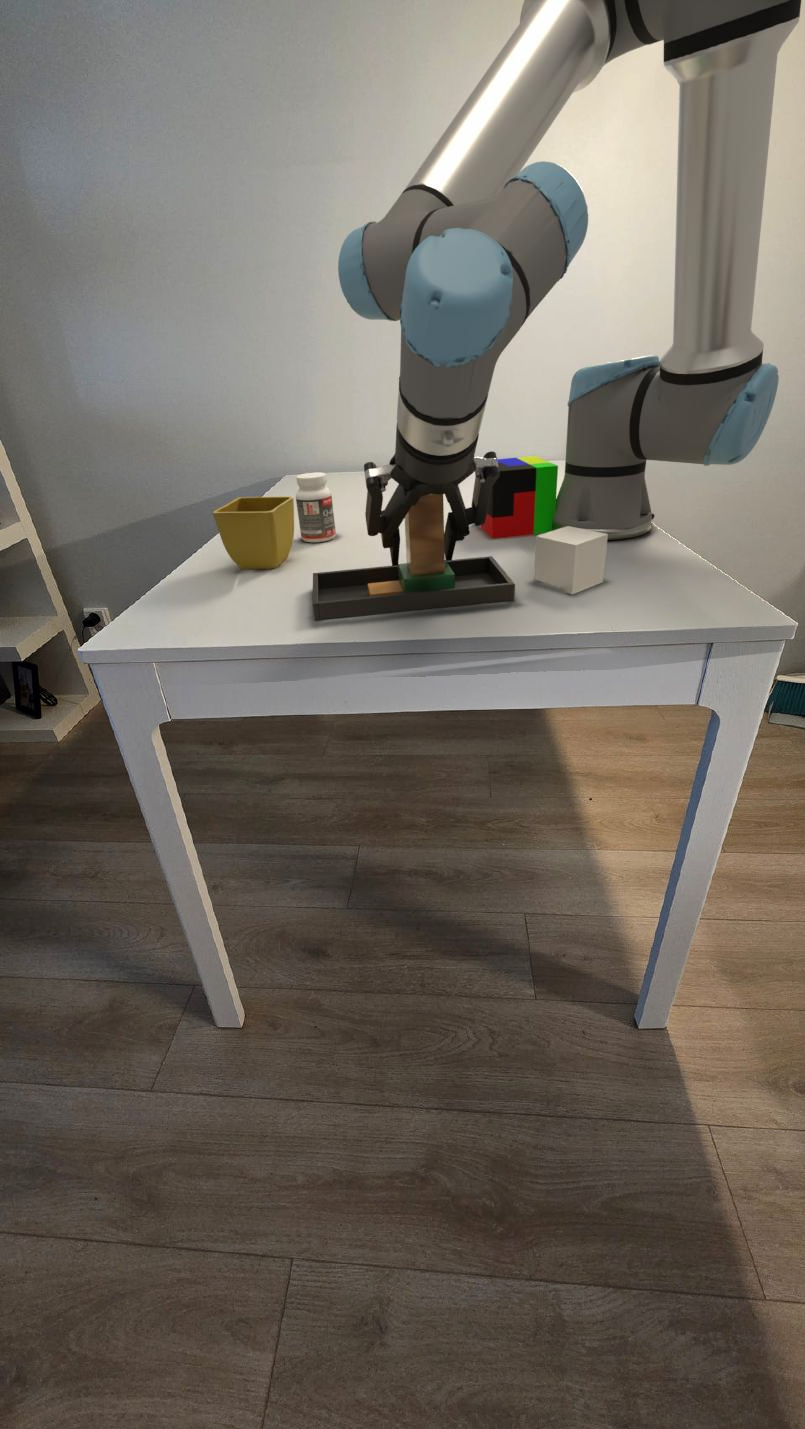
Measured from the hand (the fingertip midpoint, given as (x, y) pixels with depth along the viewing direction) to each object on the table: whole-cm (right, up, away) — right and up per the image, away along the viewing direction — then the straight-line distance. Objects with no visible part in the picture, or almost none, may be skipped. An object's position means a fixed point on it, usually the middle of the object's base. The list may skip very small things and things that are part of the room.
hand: (420, 553), depth 80 cm
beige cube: (+19, -4, +1) cm, 19 cm away
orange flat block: (-4, -6, -1) cm, 7 cm away
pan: (-1, -6, -1) cm, 6 cm away
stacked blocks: (+1, -5, -1) cm, 5 cm away
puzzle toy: (+16, +10, +25) cm, 31 cm away
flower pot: (-22, +1, +14) cm, 27 cm away
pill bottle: (-16, +9, +26) cm, 32 cm away
